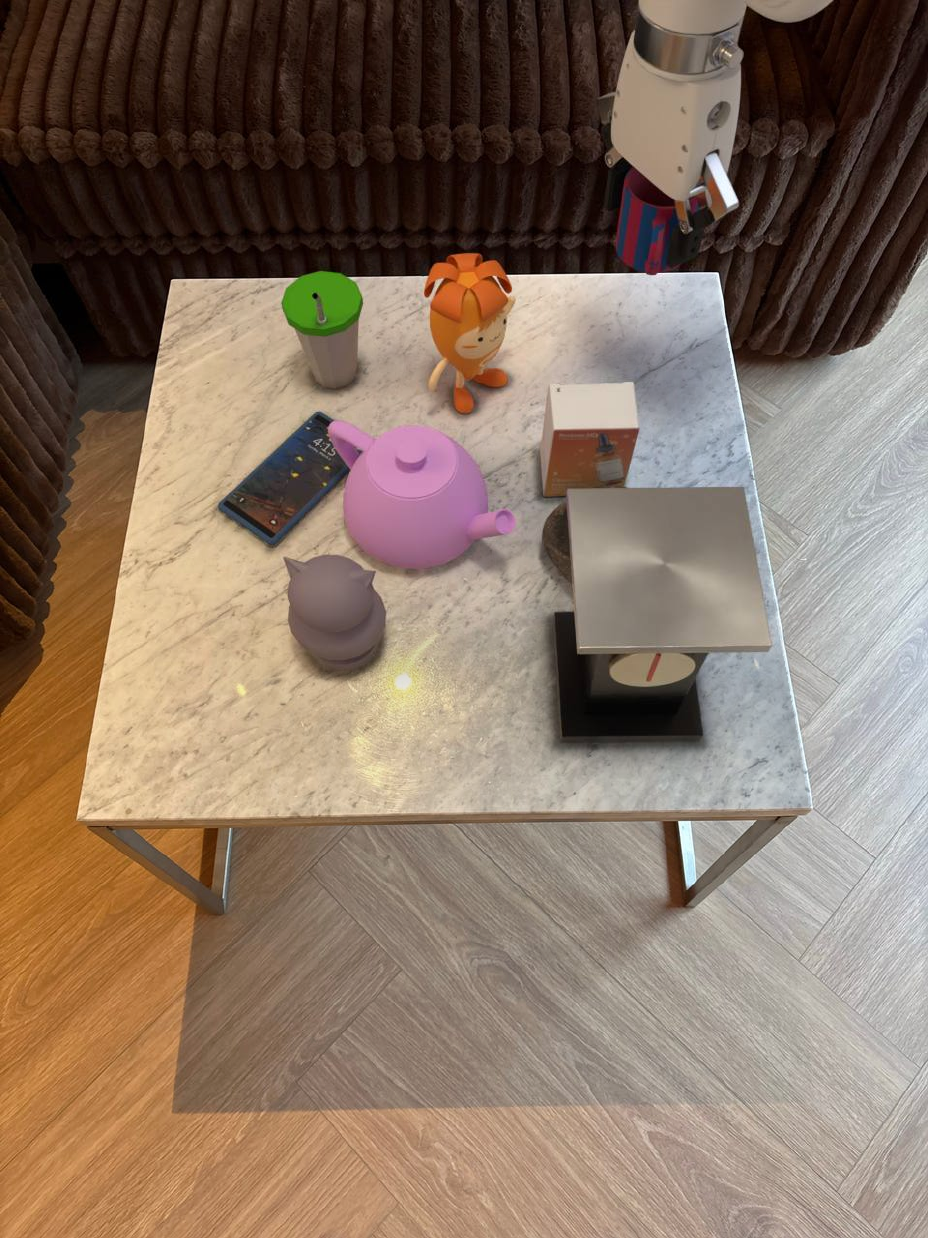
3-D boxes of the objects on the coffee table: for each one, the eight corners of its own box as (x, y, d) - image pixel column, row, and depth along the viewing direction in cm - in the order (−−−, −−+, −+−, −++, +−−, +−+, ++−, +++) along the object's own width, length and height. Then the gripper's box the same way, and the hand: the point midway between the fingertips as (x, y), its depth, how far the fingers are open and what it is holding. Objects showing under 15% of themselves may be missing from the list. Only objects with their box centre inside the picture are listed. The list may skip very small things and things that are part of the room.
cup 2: (694, 229, 88) (709, 163, 82) (675, 305, 83) (690, 241, 77) (623, 217, 89) (632, 151, 83) (601, 291, 84) (609, 227, 78)
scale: (688, 613, 87) (744, 486, 69) (706, 747, 81) (772, 646, 63) (547, 614, 87) (567, 488, 69) (554, 748, 81) (578, 648, 63)
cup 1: (322, 336, 103) (300, 221, 90) (385, 360, 101) (372, 247, 88) (284, 385, 100) (255, 274, 86) (348, 411, 98) (329, 302, 85)
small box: (542, 498, 93) (550, 430, 84) (539, 452, 96) (546, 381, 86) (623, 496, 93) (641, 428, 84) (618, 451, 96) (634, 379, 86)
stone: (685, 572, 89) (696, 544, 85) (595, 630, 86) (602, 604, 82) (610, 491, 93) (617, 460, 89) (522, 543, 91) (525, 514, 86)
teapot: (472, 622, 87) (472, 563, 77) (298, 523, 92) (279, 456, 82) (548, 516, 92) (557, 449, 83) (380, 428, 97) (371, 355, 88)
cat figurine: (287, 671, 85) (260, 609, 74) (308, 595, 88) (286, 525, 77) (380, 686, 84) (367, 625, 73) (398, 609, 87) (388, 540, 77)
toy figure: (453, 436, 97) (450, 329, 83) (401, 393, 99) (390, 282, 86) (534, 374, 100) (543, 261, 87) (481, 334, 103) (483, 219, 90)
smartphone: (214, 504, 92) (317, 408, 97) (216, 509, 92) (318, 413, 98) (272, 545, 90) (374, 444, 95) (273, 549, 90) (374, 449, 96)
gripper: (809, 72, 66) (747, 272, 81) (652, -41, 73) (623, 163, 88) (726, 111, 64) (679, 308, 79) (573, -9, 71) (557, 193, 86)
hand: (649, 230), depth 84 cm, fingers closed on cup 2, 8 cm apart
